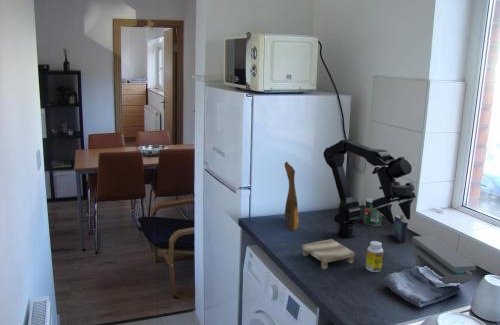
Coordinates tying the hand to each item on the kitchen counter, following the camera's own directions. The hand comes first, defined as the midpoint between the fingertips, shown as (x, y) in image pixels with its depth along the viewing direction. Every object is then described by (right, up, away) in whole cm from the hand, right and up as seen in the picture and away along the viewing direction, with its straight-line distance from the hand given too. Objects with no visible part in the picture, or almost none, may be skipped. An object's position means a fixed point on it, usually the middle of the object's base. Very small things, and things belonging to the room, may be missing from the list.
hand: (401, 221), depth 169 cm
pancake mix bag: (-38, -6, +36) cm, 53 cm away
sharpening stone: (+9, -19, -11) cm, 24 cm away
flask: (+7, -11, +24) cm, 28 cm away
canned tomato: (+1, -6, +42) cm, 42 cm away
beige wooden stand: (-27, -14, +2) cm, 31 cm away
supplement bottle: (-12, -17, -5) cm, 21 cm away
